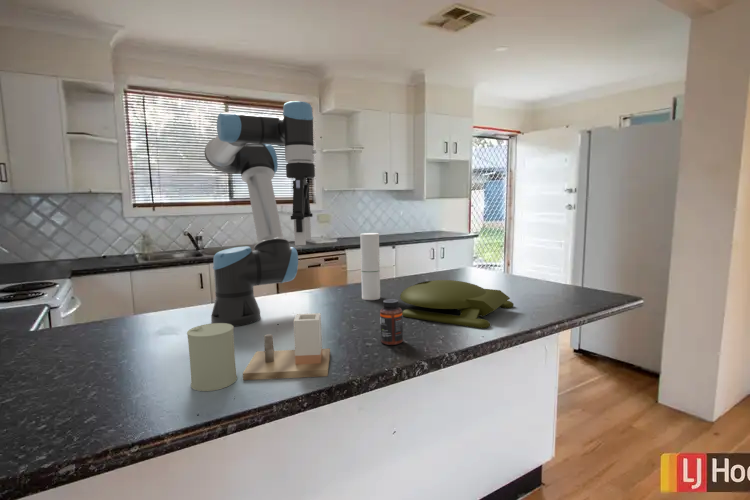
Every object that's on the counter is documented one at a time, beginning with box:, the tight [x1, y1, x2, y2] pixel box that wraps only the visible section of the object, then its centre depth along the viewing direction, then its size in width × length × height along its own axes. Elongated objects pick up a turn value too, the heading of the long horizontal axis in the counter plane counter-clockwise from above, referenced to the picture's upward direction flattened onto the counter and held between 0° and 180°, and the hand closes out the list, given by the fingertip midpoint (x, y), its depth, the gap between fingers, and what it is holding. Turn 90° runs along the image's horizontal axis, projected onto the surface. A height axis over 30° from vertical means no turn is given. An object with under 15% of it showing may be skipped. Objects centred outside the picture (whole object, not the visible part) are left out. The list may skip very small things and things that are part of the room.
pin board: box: [242, 333, 331, 381], centre depth 95 cm, size 18×13×8 cm
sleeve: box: [293, 312, 323, 364], centre depth 95 cm, size 6×6×10 cm
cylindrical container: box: [359, 232, 381, 301], centre depth 159 cm, size 7×7×25 cm
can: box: [186, 322, 238, 392], centre depth 87 cm, size 9×9×12 cm
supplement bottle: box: [379, 298, 404, 346], centre depth 110 cm, size 6×6×11 cm
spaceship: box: [399, 279, 514, 329], centre depth 140 cm, size 35×31×10 cm
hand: (303, 242), depth 113 cm, fingers open, 13 cm apart
